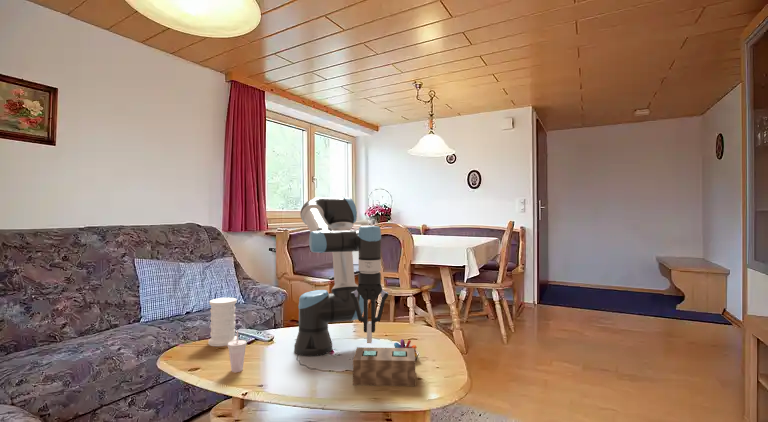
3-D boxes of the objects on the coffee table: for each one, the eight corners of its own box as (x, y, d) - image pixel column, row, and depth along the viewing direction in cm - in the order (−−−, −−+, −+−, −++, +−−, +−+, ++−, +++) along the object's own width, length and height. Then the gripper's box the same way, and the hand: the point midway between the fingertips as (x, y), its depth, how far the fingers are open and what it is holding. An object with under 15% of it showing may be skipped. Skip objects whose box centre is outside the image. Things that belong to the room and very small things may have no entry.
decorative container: (231, 346, 163) (231, 303, 164) (203, 346, 164) (203, 303, 164) (241, 337, 175) (241, 297, 175) (215, 337, 175) (215, 297, 175)
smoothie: (228, 375, 134) (228, 334, 134) (226, 368, 140) (226, 329, 140) (248, 371, 137) (248, 331, 137) (245, 365, 142) (245, 326, 143)
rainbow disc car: (415, 363, 144) (415, 343, 144) (389, 361, 146) (389, 342, 146) (418, 355, 152) (418, 336, 152) (393, 354, 154) (393, 335, 154)
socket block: (352, 385, 126) (352, 360, 126) (357, 370, 138) (356, 347, 138) (415, 386, 125) (415, 360, 125) (414, 371, 137) (414, 348, 137)
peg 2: (393, 379, 129) (393, 355, 129) (393, 374, 133) (393, 351, 133) (405, 380, 129) (405, 355, 129) (405, 375, 133) (405, 351, 133)
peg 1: (363, 379, 130) (363, 355, 130) (364, 374, 134) (364, 350, 134) (375, 379, 129) (375, 355, 129) (376, 374, 133) (376, 351, 133)
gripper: (348, 273, 128) (348, 345, 129) (388, 273, 128) (388, 346, 128) (351, 269, 136) (351, 337, 136) (389, 270, 135) (389, 338, 136)
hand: (369, 341), depth 132 cm, fingers closed
